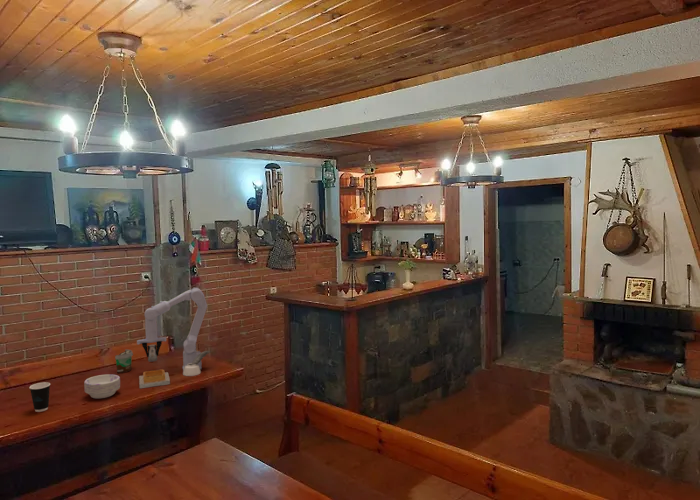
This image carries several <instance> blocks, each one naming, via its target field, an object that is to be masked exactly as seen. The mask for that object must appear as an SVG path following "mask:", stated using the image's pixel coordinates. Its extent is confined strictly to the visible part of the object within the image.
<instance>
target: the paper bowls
mask: <svg viewBox="0 0 700 500" xmlns="http://www.w3.org/2000/svg"><path fill="white" fill-rule="evenodd" d="M83 383H84V393H86V394H88V395H89V396H90V397H91V398H93V399H98V400H99V399H106V398H110V397H113V395H114V394H115V393H116V392H117V391H118V390H120V388H121V377H120V376H119V375H117V374H112V373H111V374H99V375H94V376H91V377H88V378H86V379H85V380H84V382H83Z"/></svg>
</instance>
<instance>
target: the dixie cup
mask: <svg viewBox="0 0 700 500" xmlns="http://www.w3.org/2000/svg"><path fill="white" fill-rule="evenodd" d="M50 387H51V383H50V382H47V381H46V382H45V381H44V382H37V383H34V384H31V385H30V386H29V390H30V394H31V395H30V396H31V400H32V404H33V409H34V411H35V412H37V413H41V412H45V411H47V410H48V409H49V404H50V403H49V402H50Z"/></svg>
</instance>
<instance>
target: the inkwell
mask: <svg viewBox="0 0 700 500" xmlns="http://www.w3.org/2000/svg"><path fill="white" fill-rule="evenodd" d="M209 353H211V351H210V350H204V351H202V352H201V353H200V354H199V355H198V356H197V357H196V358H195V359H194V360H193V362H192V363H189V364H187V365H186V366H185V367H184V371H183V370H182V375H183V376H185V377H194V376H198V375H200V374H201V373H202V371H201V369H200V368H199V365H197V364H198V363H199V362H200V361H201V362H202V360H203V358H204V357H206V356H207V355H208V354H209Z"/></svg>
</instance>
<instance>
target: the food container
mask: <svg viewBox="0 0 700 500" xmlns="http://www.w3.org/2000/svg"><path fill="white" fill-rule="evenodd" d="M124 350H125V351H123V352H121V353H119V354H116V355H115V358H114V359H115V365H116V372H117V374H121V373H122V374H123V373H127V372H130V371H131V370H132V358H133V357H132V356H134V353H133V350H132V349H126V348H125V349H124Z"/></svg>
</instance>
